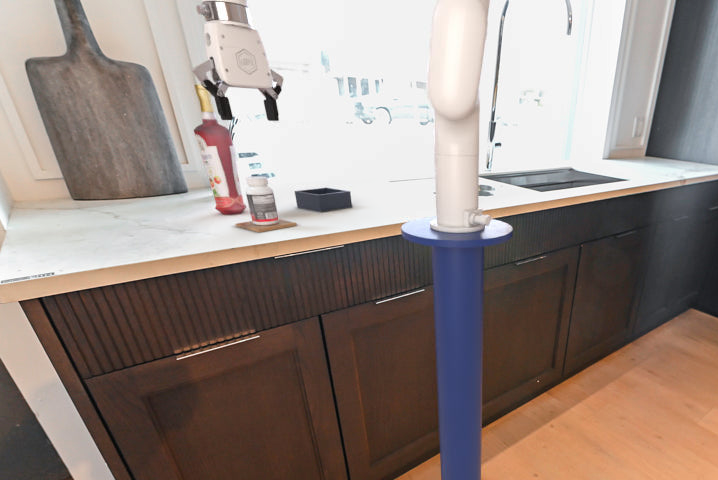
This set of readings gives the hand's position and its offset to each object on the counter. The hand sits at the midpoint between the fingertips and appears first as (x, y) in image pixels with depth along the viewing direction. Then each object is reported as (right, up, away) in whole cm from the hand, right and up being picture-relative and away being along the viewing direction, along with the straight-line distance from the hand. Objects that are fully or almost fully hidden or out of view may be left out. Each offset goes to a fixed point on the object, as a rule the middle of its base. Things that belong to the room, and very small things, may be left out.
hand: (251, 120), depth 87 cm
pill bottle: (-1, -19, +8) cm, 21 cm away
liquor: (-17, -13, +20) cm, 29 cm away
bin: (+3, -9, +31) cm, 32 cm away
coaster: (-1, -20, +8) cm, 21 cm away
